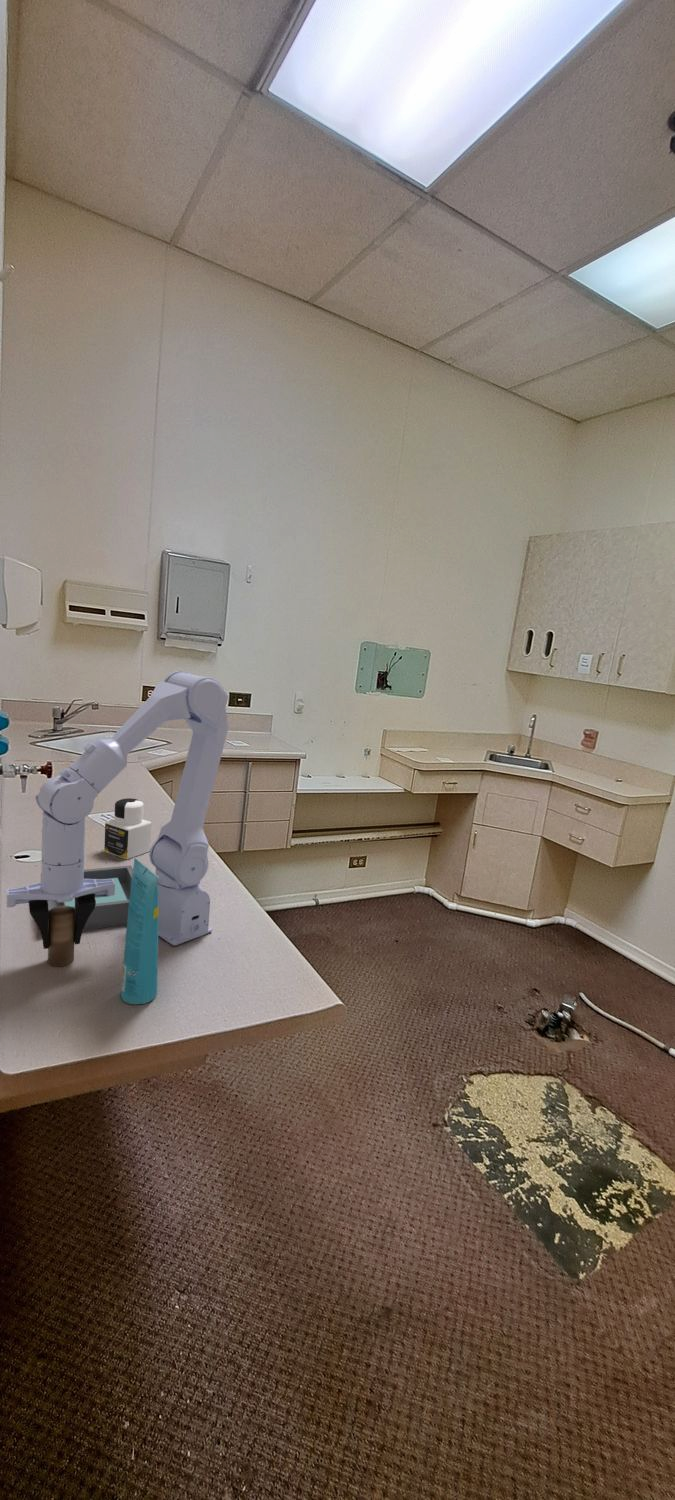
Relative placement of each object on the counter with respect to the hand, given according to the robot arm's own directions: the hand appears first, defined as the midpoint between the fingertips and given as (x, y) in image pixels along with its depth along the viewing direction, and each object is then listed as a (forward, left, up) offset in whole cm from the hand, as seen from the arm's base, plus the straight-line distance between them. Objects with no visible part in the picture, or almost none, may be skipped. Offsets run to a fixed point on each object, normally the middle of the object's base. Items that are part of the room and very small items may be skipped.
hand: (61, 943), depth 91 cm
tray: (+13, -12, -3) cm, 18 cm away
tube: (-15, -4, -3) cm, 16 cm away
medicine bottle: (+33, -31, -3) cm, 45 cm away
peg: (0, 0, -3) cm, 3 cm away
